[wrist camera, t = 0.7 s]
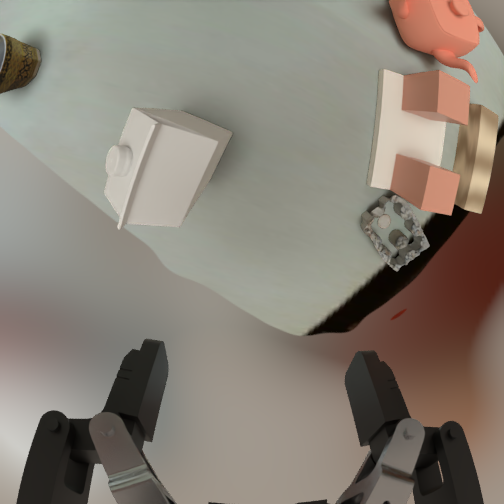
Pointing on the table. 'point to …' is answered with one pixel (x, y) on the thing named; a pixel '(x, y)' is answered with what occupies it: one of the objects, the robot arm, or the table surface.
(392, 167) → the cream and salmon bracket
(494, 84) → the table surface
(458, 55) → the teapot
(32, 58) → the ceramic cup
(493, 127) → the oak beam
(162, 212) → the milk carton
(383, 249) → the egg carton
